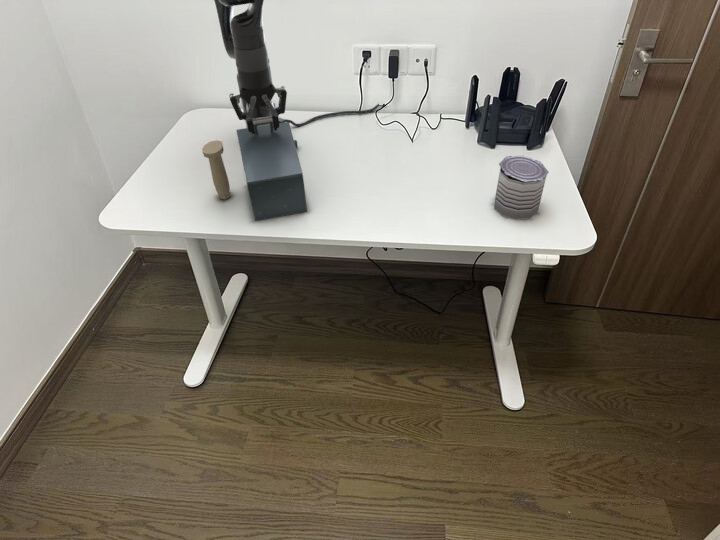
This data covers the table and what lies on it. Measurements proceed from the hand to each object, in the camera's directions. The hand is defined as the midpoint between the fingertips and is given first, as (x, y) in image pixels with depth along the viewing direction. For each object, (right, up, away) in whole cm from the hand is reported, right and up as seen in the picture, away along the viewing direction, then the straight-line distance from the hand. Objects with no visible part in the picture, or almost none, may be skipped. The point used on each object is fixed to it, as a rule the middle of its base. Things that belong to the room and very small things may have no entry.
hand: (264, 130), depth 132 cm
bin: (+2, -16, +9) cm, 18 cm away
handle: (-13, -15, +10) cm, 22 cm away
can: (+64, -19, +2) cm, 67 cm away
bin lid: (+1, -6, -1) cm, 6 cm away
